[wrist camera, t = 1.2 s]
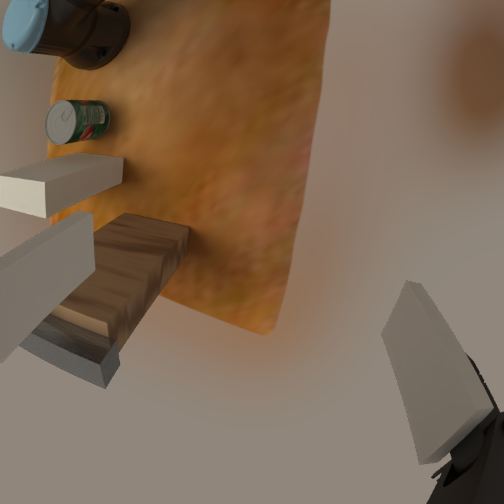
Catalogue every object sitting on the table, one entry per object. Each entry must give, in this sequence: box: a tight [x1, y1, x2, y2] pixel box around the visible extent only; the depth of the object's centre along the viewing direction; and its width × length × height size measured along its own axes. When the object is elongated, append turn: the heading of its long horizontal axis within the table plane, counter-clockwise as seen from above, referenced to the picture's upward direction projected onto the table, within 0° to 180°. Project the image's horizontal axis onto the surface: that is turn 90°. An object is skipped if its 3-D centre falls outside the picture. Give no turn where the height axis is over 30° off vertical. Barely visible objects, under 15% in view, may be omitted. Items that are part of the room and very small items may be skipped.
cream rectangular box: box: [0, 153, 124, 218], centre depth 42 cm, size 6×12×22 cm, turn 79°
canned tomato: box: [45, 100, 110, 145], centre depth 43 cm, size 8×8×11 cm
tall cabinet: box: [50, 213, 190, 353], centre depth 43 cm, size 7×14×30 cm, turn 79°
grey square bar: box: [18, 314, 120, 389], centre depth 28 cm, size 4×24×4 cm, turn 79°
